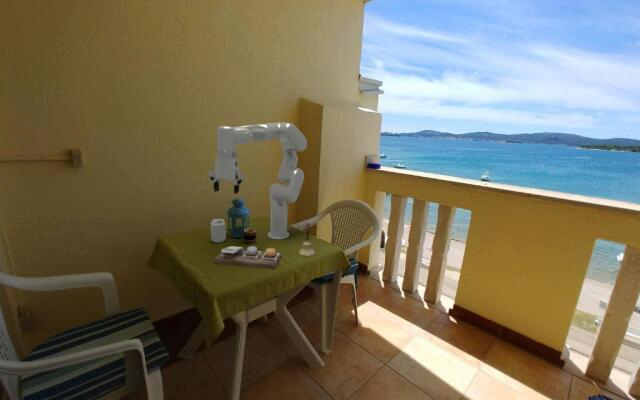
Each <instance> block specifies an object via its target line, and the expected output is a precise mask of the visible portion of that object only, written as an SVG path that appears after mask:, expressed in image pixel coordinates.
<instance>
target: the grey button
mask: <svg viewBox="0 0 640 400" xmlns="http://www.w3.org/2000/svg"><path fill="white" fill-rule="evenodd" d="M246 250H247V254H249V255H254V254H256V253H257V251H258V247H257V246H255V245H252V246H248V247H247V248H246Z"/></svg>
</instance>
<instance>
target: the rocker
mask: <svg viewBox="0 0 640 400" xmlns="http://www.w3.org/2000/svg"><path fill="white" fill-rule="evenodd" d="M224 248H225V247H224ZM224 248H222V249H221V252H225V253H236V252H238V250H239V249H240V248H242V250H243V249H244V247H243V246H233V245H232V246H231V245H230V246H227V248H225V249H224ZM221 252H220V253H221Z"/></svg>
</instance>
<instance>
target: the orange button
mask: <svg viewBox="0 0 640 400" xmlns="http://www.w3.org/2000/svg"><path fill="white" fill-rule="evenodd" d="M265 251H266V256H269V257H272V256H275V254H276V252H277V251H276V248H274V247H269V248H268V247H267V248H266V249H265Z"/></svg>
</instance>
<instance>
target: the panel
mask: <svg viewBox="0 0 640 400" xmlns="http://www.w3.org/2000/svg"><path fill="white" fill-rule="evenodd" d="M225 248H228V246H225V247H224V248H223V249H225ZM281 258H282V252H278V251H276V254H275V256H272V257H269V256H266V250H257V253H256V254H254V255H249V254H247V248H246V249H244V248H243V250H242V248H240V249H239V250H238V252H236V253H225V252H220V253H219V254H218V255H217V256H216V257H215V258H213V263H214V264H217V265H218V264H219V265H220V264H221V265H229V266H239V267H241V266H242V267H250V268H251V267H252V268H259V269H260V268H261V269H271V270H275V269H276V266H277V265H278V263H279V261H280V259H281Z"/></svg>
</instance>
